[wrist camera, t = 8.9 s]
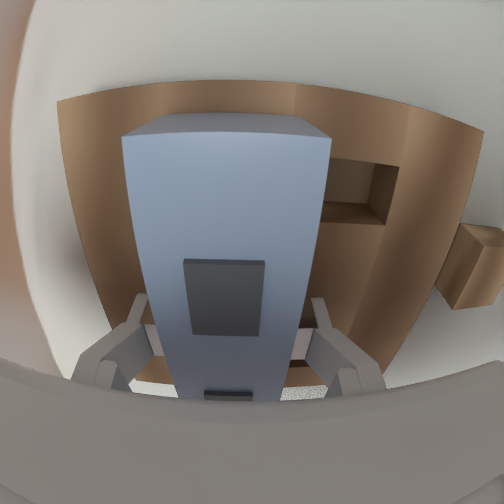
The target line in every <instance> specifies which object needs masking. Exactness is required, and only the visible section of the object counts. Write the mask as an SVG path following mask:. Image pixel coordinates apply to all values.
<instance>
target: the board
mask: <svg viewBox="0 0 504 504" xmlns="http://www.w3.org/2000/svg"><path fill="white" fill-rule="evenodd" d="M57 111H58V122H59V132H60V140H61V148H62V155H63V161H64V167H65V173H66V179H67V184H68V189H69V194H70V199H71V203H72V207H73V212H74V216H75V220H76V224H77V228H78V232H79V235H80V239H81V242H82V246H83V249H84V253H85V256H86V259H87V262H88V266H89V269H90V272H91V275H92V278H93V281H94V284H95V286H96V289H97V292H98V295H99V297H100V300H101V303H102V305H103V308H104V311H105V313H106V316H107V318H108V321H109V323H110V325H111V328H112V330H113V329H115V328H116V327H117V326H118V325H120V324H121V323H122V322H123V323H126V321H127V318H128V316H129V313H130V311H131V308H132V305H133V303H134V300H135V298H136V295H137V294H138V293H145V294H147V291H146V287H145V282H144V278H143V274H142V269H141V264H140V260H139V255H138V250H137V245H136V240H135V234H134V229H133V223H132V217H131V211H130V205H129V198H128V191H127V184H126V176H125V167H124V158H123V148H122V136H124V135H126V134H128V133H130V132H131V131H133V130H135V129H137V128H139V127H141V126H143V125H145V124H147V123H149V122H151V121H153V120H155V119H157V118H159V117H162V116H164V115H166V114H180V113H215V112H227V113H262V114H279V115H292V116H300V117H301V118H303V119H304V120H306V121H307V122H309V123H310V124H312V125H313V126H315V127H316V128H318V129H319V130H320V131H322V132H323V133H325V134H326V135H327V136H329V137H330V138H332V142H331V150H330V157H329V165H328V172H327V179H326V186H325V192H324V199H323V205H322V211H321V217H320V223H319V228H318V234H317V240H316V245H315V251H314V256H313V261H312V266H311V271H310V276H309V281H308V286H307V291H306V295H305V298H315V297H322V298H323V299H324V301H325V304H326V308H327V311H328V314H329V318H330V321H331V324H332V328H337V329H338V330H339V331H340V332H342V333H343V334H344V335H345V336H346V337H347V338H349V339H350V340H351V341H352V342H353V343H355V344H356V345H357V346H358V347H359V348H361V349H362V350H363V351H364V352H365V353H367V354H368V355H369V356H370V357H371V358H372V359H374V360H375V361H376V362H377V363H378V365H379V367H380V370H381V373H382V375H383V373H384V372H385V370H386V369H387V367H388V366H389V364H390V362H391V361H392V359H393V358H394V356H395V355H396V353H397V351H398V350H399V348H400V347H401V345H402V343H403V342H404V340H405V338H406V336H407V335H408V333H409V331H410V330H411V328H412V326H413V324H414V322H415V321H416V319H417V317H418V315H419V313H420V311H421V309H422V308H423V306H424V304H425V302H426V300H427V298H428V296H429V294H430V292H431V290H432V288H433V285H434V283H435V281H436V279H437V277H438V275H439V273H440V270H441V268H442V266H443V263H444V261H445V259H446V256H447V254H448V252H449V249H450V247H451V244H452V242H453V239H454V236H455V234H456V231H457V228H458V226H459V223H460V220H461V217H462V214H463V211H464V208H465V205H466V202H467V199H468V195H469V192H470V188H471V185H472V181H473V178H474V174H475V170H476V166H477V162H478V158H479V153H480V149H481V144H482V139H483V134H484V131H482V130H479V129H477V128H475V127H472V126H470V125H467V124H465V123H462V122H459V121H457V120H454V119H451V118H449V117H446V116H443V115H440V114H437V113H434V112H431V111H428V110H425V109H421V108H418V107H415V106H411V105H408V104H404V103H400V102H396V101H393V100H389V99H384V98H380V97H376V96H371V95H367V94H362V93H357V92H351V91H346V90H340V89H334V88H327V87H321V86H313V85H305V84H295V83H285V82H272V81H253V80H198V81H179V82H166V83H155V84H146V85H138V86H131V87H124V88H118V89H112V90H106V91H101V92H96V93H91V94H86V95H82V96H77V97H73V98H69V99H65V100H61V101H57ZM153 356H154V357H153V358H152V359H151V360H150V361H149V362H148V363H147V364H146V365H145V366H144V368H143V369H142V370H141V371H140V372H139V373H138V374H137V375H136V376H135V379H136V380H137V381H145V382H153V383H162V384H173V385H174V383H173V380H172V377H171V374H170V371H169V368H168V365H167V362H166V359H165V356H156V355H153ZM315 385H325V383H324V382H323V381H322V380H321V379H320V378H319V376H318V375H317V374H316V373H315V372H314V370H313V369H312V368H311V367H310V366H309V365H308V363H307V362H306V361H305V359H297V360H290V364H289V368H288V372H287V375H286V379H285V383H284V387H301V386H315Z"/></svg>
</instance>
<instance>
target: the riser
mask: <svg viewBox="0 0 504 504" xmlns="http://www.w3.org/2000/svg"><path fill="white" fill-rule="evenodd" d="M503 284H504V232H503V231H502V230H501V229H500V228H494V227H486V226H479V225H470V224H462V223H460V225H459V228H458V231H457V234H456V236H455V239H454V241H453V244H452V246H451V249H450V251H449V254H448V256H447V259H446V261H445V263H444V266H443V268H442V270H441V272H440V275H439V277H438V279H437V281H436V283H435V285H436V287H437V288H438V289H439V291H440V292H441V294H442V295H443V297H444V298H445V300H446V301H447V303H448V304H449V306H450V307H451V309H452V310H456V309H464V308H471V307H478V306H484V305H491V304H492V303H493V301H494V300H495V298H496V296H497V295H498V293H499V291H500V289H501V287H502V286H503Z"/></svg>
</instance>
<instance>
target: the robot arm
mask: <svg viewBox="0 0 504 504" xmlns="http://www.w3.org/2000/svg"><path fill="white" fill-rule="evenodd" d="M153 355H156V356H164V353H163V349H162V346H161V343H160V339H159V336H158V332H157V329H156V325H155V322H154V318H153V314H152V311H151V307H150V303H149V299H148V295H147V294H145V293H138V294H137V295H136V298H135V300H134V303H133V305H132V308H131V311H130V313H129V316H128V318H127V321H126V323H123V322H122V323H121V324H120V325H118V326H117V327H116V328H115V329H113V330H112V331H111V332H109V333H108V334H107V335H105V336H104V337H103V338H101V339H100V340H99V341H97V342H96V343H95V344H94V345H92V346H91V347H90V348H88V349H87V350H86V351H84V352H83V353H82V354H81V355H80V357H79V360H78V362H77V365H76V367H75V370H74V372H73V375H72V377H71V380H69V379H66V378H62V377H58V376H54V375H51V374H47V373H44V372H41V371H37V370H34V369H31V368H28V367H24V366H22V365H19V364H16V363H13V362H10V361H8V360H5V359H2V358H0V504H504V362H502V361H500V360H495V361H491V362H488V363H486V364H483V365H480V366H477V367H474V368H471V369H468V370H464V371H461V372H458V373H454V374H451V375H447V376H444V377H440V378H436V379H432V380H428V381H424V382H420V383H415V384H411V385H406V386H401V387H396V388H391V389H387V388H386V385H385V382H384V379H383V376H382V373H381V370H380V367H379V365H378V363H377V362H376V361H375V360H374V359H372V358H371V357H370V356H369V355H368V354H367V353H365V352H364V351H363V350H362V349H361V348H359V347H358V346H357V345H356V344H355V343H353V342H352V341H351V340H350V339H349V338H347V337H346V336H345V335H344V334H343V333H342V332H340V331H339V330H338V329H337V328H332V324H331V321H330V318H329V314H328V311H327V308H326V304H325V301H324V299H323V298H322V297H315V298H305V300H304V305H303V309H302V314H301V318H300V322H299V327H298V331H297V335H296V340H295V344H294V348H293V352H292V356H291V360H297V359H305V361H306V362H307V363H308V365H309V366H310V367H311V368H312V369H313V370H314V372H315V373H316V374H317V375H318V376H319V378H320V379H321V380H322V381H323V382H324V383H325V385H326V386H327V387H328V388H329V389H328V391H327V393H326V395H325V397H324V398H316V399H303V400H285V401H215V400H198V399H185V398H174V397H164V396H156V395H148V394H141V393H134V392H132V390H131V389H130V387H129V385H128V384H129V383H130V382H131V381H132V379H133V378H134V377H135V376H136V375H137V374H138V373H139V372H140V371H141V370H142V369H143V368H144V366H145V365H146V364H147V363H148V362H149V361H150V360H151V359H152V358H153V357H154V356H153Z"/></svg>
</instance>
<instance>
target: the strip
mask: <svg viewBox="0 0 504 504" xmlns="http://www.w3.org/2000/svg"><path fill="white" fill-rule="evenodd" d="M331 142H332V138H330V137H329V136H327V135H326V134H325V133H323V132H322V131H320V130H319V129H318V128H316V127H315V126H313V125H312V124H310V123H309V122H307V121H306V120H304V119H303V118H301V117H300V116H292V115H279V114H262V113H227V112H215V113H180V114H166V115H164V116H162V117H159V118H157V119H155V120H153V121H151V122H149V123H147V124H145V125H143V126H141V127H139V128H137V129H135V130H133V131H131V132H130V133H128V134H126V135H124V136H122V148H123V158H124V167H125V176H126V184H127V191H128V198H129V205H130V211H131V217H132V223H133V229H134V234H135V240H136V245H137V250H138V255H139V260H140V264H141V269H142V274H143V278H144V282H145V287H146V291H147V295H148V299H149V303H150V307H151V311H152V314H153V318H154V322H155V325H156V329H157V332H158V336H159V339H160V343H161V346H162V349H163V353H164V356H165V359H166V362H167V365H168V368H169V371H170V374H171V377H172V380H173V383H174V386H175V389H176V392H177V394H178V397H179V398H185V399H198V400H215V401H280V398H281V394H282V390H283V387H284V383H285V379H286V375H287V372H288V368H289V364H290V360H291V356H292V352H293V348H294V344H295V340H296V335H297V331H298V327H299V322H300V318H301V314H302V309H303V305H304V300H305V295H306V291H307V286H308V281H309V276H310V271H311V266H312V261H313V256H314V251H315V245H316V240H317V234H318V228H319V223H320V217H321V211H322V205H323V199H324V192H325V186H326V179H327V172H328V165H329V157H330V150H331Z"/></svg>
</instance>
